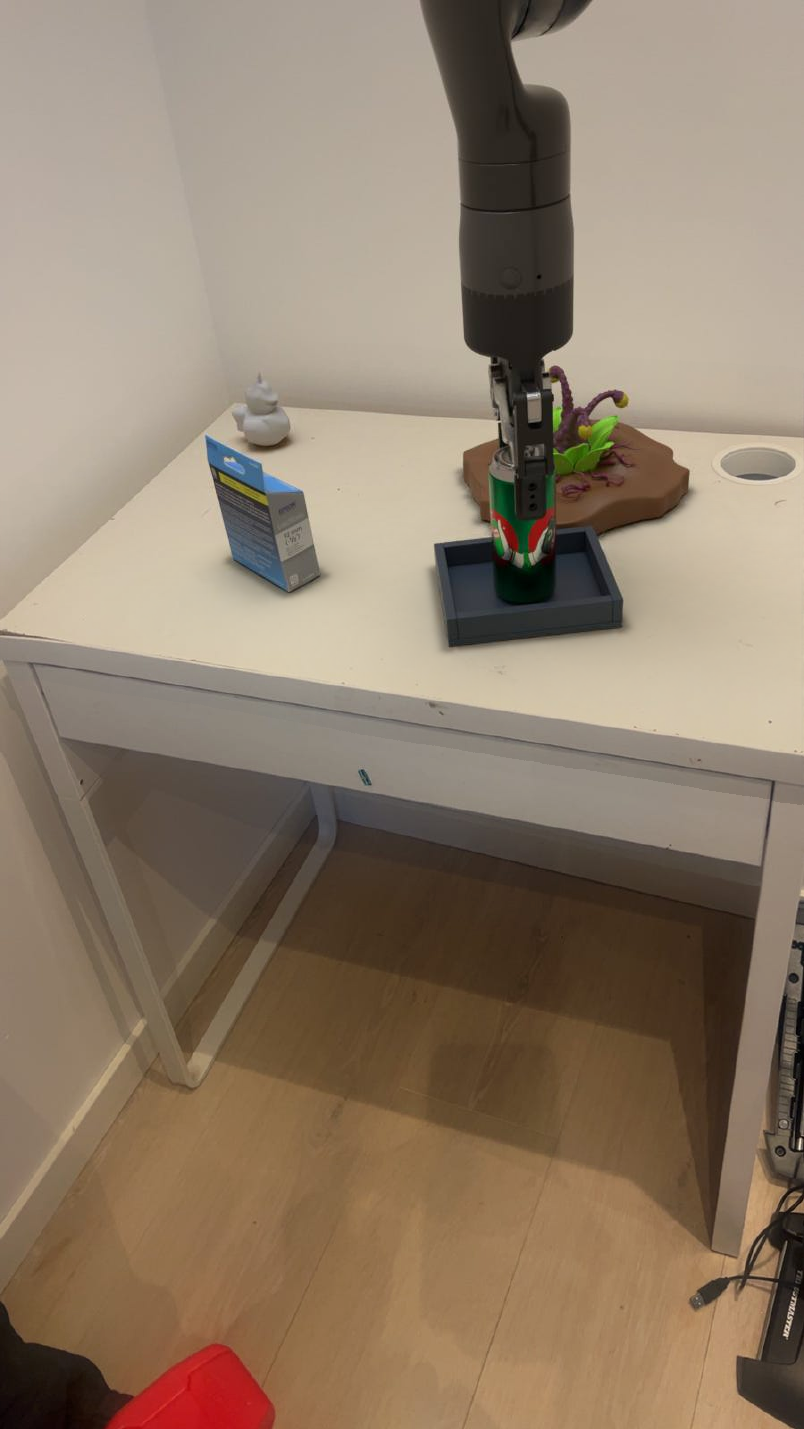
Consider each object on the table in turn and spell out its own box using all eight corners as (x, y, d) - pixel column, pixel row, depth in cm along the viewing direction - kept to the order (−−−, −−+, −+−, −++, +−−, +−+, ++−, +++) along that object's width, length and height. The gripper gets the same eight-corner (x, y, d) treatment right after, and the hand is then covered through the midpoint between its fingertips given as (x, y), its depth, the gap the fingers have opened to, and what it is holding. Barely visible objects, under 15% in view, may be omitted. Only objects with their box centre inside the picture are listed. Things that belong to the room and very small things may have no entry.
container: (592, 551, 90) (592, 525, 88) (622, 627, 81) (623, 599, 79) (435, 569, 90) (433, 543, 88) (448, 646, 81) (446, 619, 79)
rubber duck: (280, 455, 111) (267, 382, 105) (226, 450, 113) (211, 379, 108) (302, 433, 114) (290, 362, 109) (249, 429, 116) (235, 359, 111)
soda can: (555, 573, 86) (555, 438, 79) (556, 607, 83) (556, 469, 75) (494, 575, 87) (488, 441, 80) (493, 609, 83) (486, 472, 76)
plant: (607, 424, 109) (611, 316, 102) (718, 501, 94) (731, 382, 87) (432, 472, 104) (423, 362, 97) (520, 560, 90) (517, 439, 83)
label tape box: (322, 576, 91) (300, 445, 83) (285, 595, 89) (259, 463, 81) (264, 543, 96) (239, 417, 88) (228, 561, 94) (199, 434, 87)
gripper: (594, 298, 63) (589, 531, 74) (554, 235, 74) (554, 446, 85) (472, 312, 64) (484, 543, 74) (450, 247, 75) (463, 456, 85)
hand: (521, 491), depth 79 cm, fingers open, 8 cm apart
